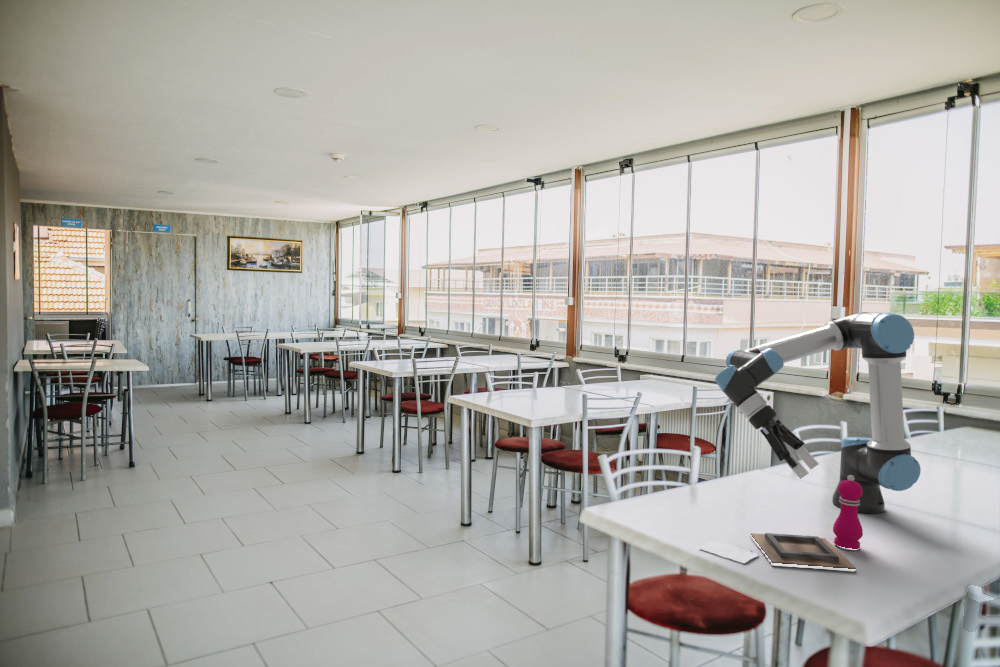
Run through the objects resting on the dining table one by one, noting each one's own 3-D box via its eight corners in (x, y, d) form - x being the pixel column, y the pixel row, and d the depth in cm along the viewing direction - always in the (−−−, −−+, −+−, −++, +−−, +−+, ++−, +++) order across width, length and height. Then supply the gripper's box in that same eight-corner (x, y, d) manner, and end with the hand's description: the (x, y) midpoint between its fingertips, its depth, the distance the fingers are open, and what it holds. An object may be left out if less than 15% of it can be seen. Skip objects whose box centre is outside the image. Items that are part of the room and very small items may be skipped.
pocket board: (824, 542, 179) (825, 533, 179) (855, 572, 160) (856, 562, 159) (750, 537, 182) (751, 528, 182) (772, 566, 162) (772, 556, 162)
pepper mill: (828, 546, 177) (832, 474, 176) (837, 539, 182) (841, 470, 181) (856, 554, 172) (861, 480, 171) (865, 547, 177) (869, 475, 176)
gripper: (759, 414, 202) (808, 470, 193) (735, 425, 182) (788, 488, 174) (778, 399, 198) (829, 455, 190) (755, 408, 178) (811, 472, 170)
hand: (810, 471), depth 182 cm, fingers open, 13 cm apart
